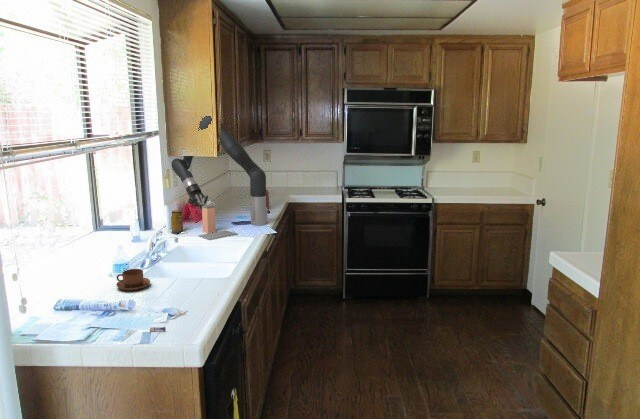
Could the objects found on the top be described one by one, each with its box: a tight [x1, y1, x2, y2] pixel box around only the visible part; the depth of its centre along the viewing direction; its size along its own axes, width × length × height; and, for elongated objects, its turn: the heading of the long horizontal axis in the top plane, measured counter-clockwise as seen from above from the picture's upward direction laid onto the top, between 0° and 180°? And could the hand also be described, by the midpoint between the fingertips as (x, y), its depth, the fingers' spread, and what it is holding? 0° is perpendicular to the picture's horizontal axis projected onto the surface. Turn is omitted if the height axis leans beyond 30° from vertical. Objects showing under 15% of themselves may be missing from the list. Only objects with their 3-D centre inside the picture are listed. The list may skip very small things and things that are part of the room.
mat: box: [197, 229, 238, 241], centre depth 263 cm, size 18×11×1 cm, turn 136°
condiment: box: [169, 209, 188, 235], centre depth 268 cm, size 7×8×12 cm
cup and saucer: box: [116, 268, 151, 291], centre depth 184 cm, size 12×12×6 cm
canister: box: [266, 186, 270, 210], centre depth 337 cm, size 13×13×18 cm
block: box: [201, 204, 217, 234], centre depth 269 cm, size 5×5×15 cm
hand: (204, 211), depth 271 cm, fingers closed
